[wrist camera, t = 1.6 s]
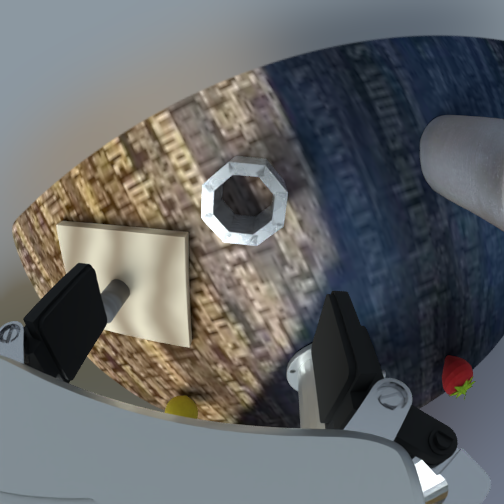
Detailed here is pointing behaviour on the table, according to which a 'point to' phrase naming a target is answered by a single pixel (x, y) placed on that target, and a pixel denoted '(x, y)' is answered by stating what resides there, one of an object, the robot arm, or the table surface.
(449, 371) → the strawberry
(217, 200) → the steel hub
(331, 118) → the table surface
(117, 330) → the post board
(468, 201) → the pillar candle
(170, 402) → the lemon
